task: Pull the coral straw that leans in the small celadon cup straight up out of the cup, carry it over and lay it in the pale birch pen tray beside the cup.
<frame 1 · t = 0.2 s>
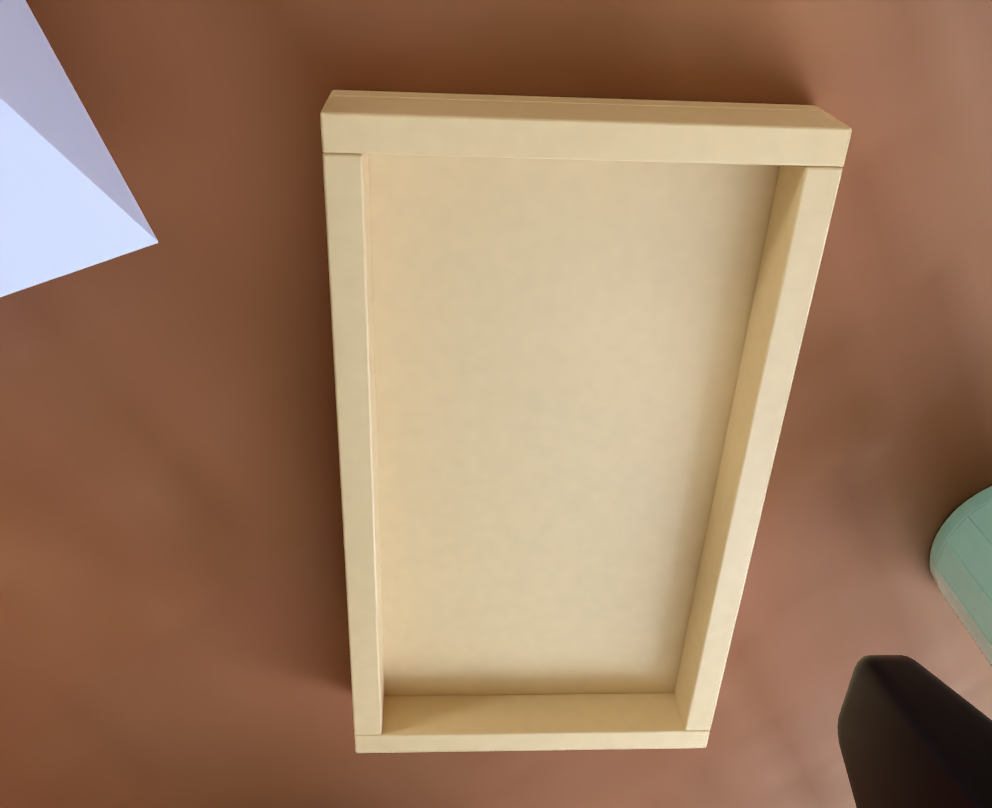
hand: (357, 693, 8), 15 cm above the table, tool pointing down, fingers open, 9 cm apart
tray: (547, 454, 24), on the table
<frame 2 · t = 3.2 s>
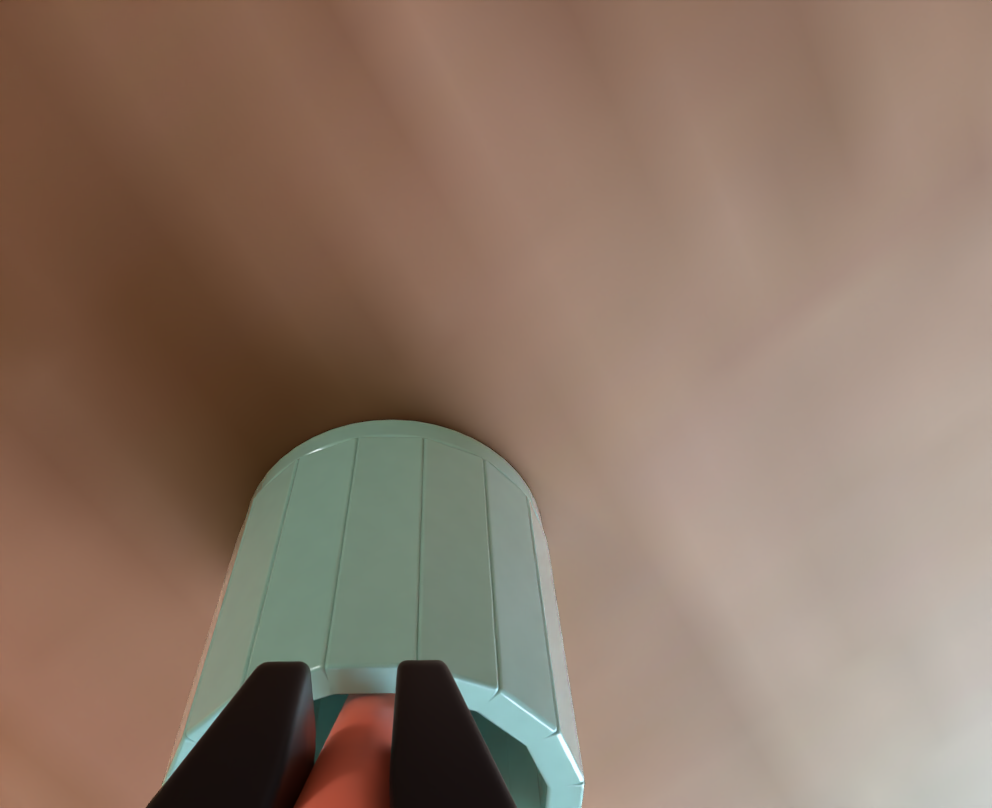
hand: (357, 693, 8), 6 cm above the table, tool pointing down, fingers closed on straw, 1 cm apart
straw: (370, 735, 10), point 5 cm above the table, touching cup, gripper
cup: (395, 544, 15), on the table, touching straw
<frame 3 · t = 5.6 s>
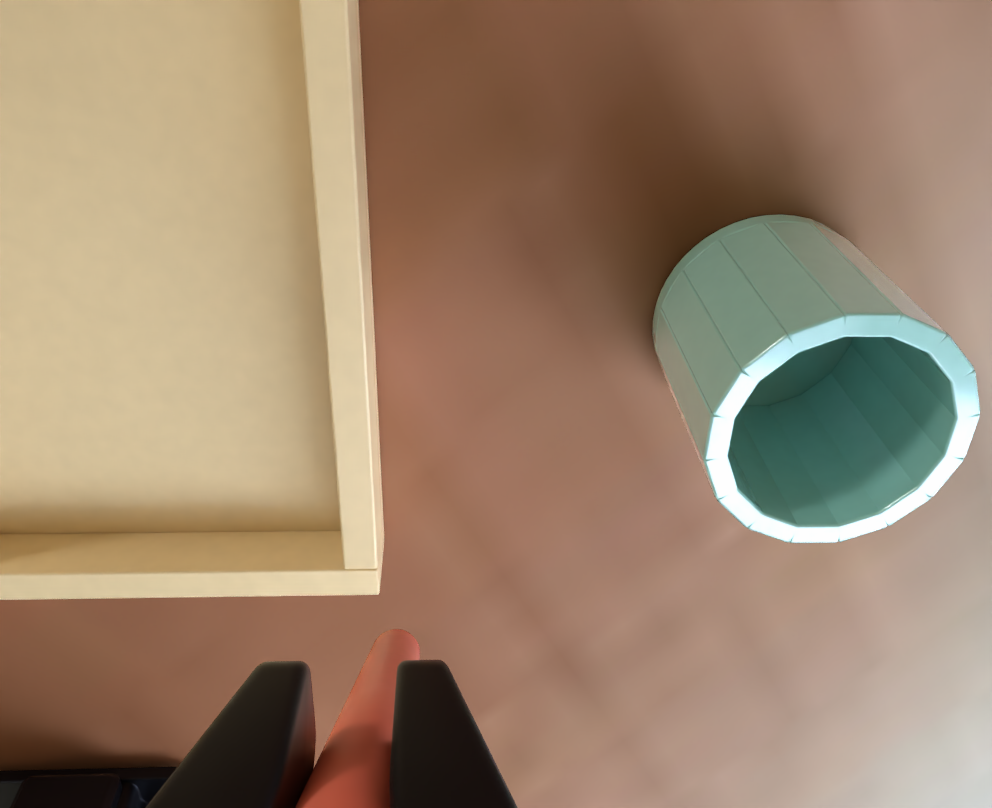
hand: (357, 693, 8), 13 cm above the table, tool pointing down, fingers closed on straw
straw: (371, 734, 10), point 12 cm above the table, touching gripper
cup: (759, 317, 21), on the table
tray: (103, 181, 18), on the table
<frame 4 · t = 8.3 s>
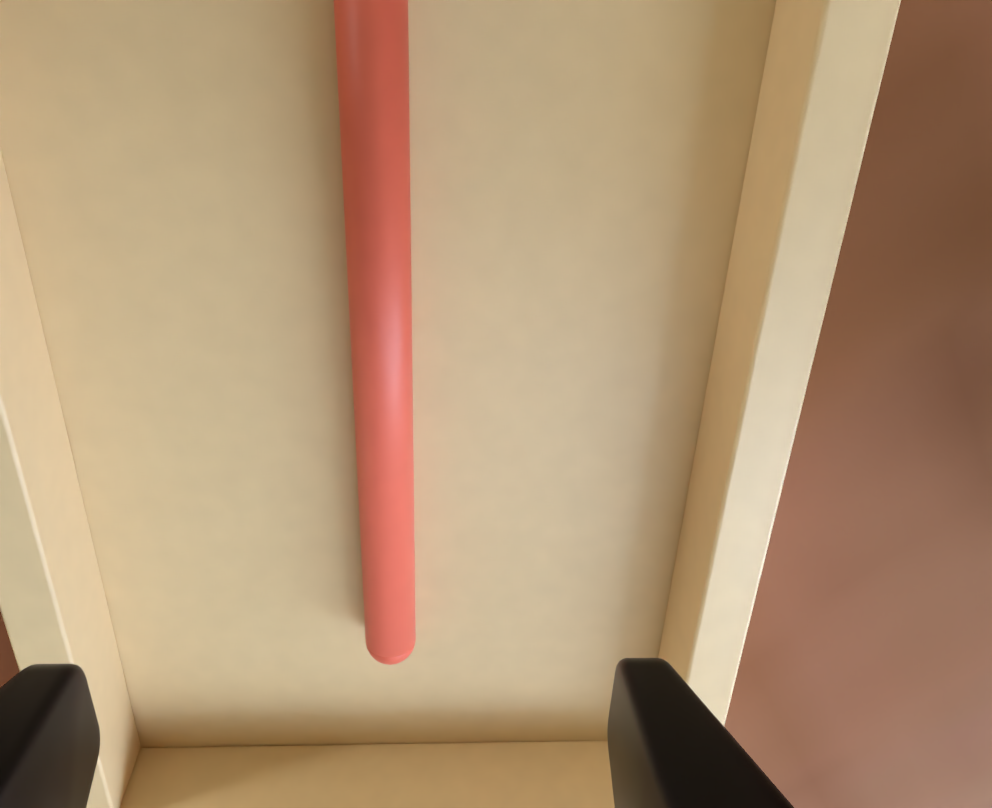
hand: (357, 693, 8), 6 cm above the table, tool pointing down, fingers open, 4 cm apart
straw: (381, 329, 12), point 1 cm above the table, tilted 54°, touching tray
tray: (388, 295, 13), on the table
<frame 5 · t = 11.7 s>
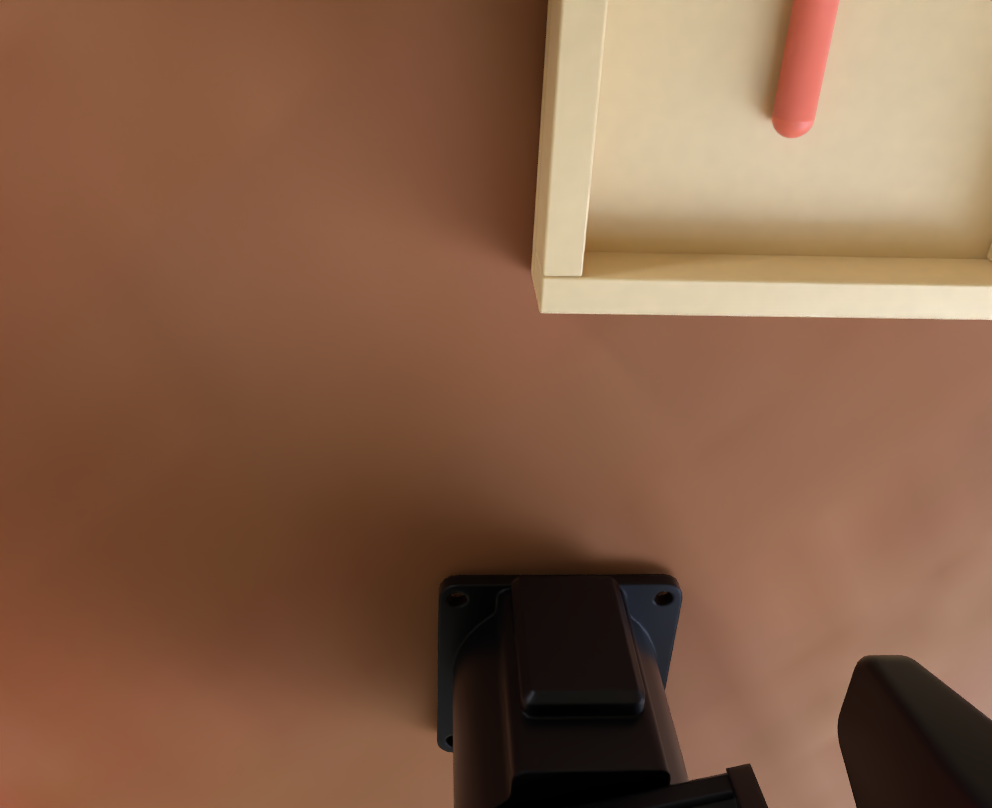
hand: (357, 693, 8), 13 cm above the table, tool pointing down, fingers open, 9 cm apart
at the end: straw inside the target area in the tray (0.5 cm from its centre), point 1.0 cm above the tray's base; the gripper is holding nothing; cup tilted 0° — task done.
